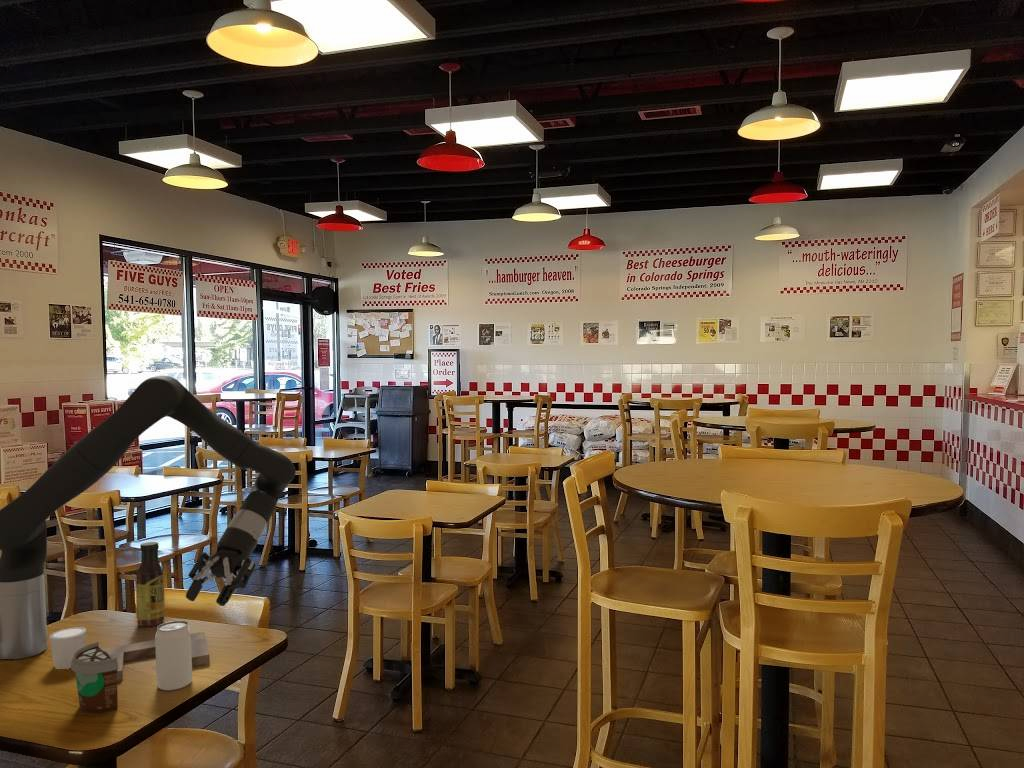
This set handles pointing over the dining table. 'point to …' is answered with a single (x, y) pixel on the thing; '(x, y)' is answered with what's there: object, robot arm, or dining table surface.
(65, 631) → the white short cylinder
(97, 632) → the dining table surface
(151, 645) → the notched board
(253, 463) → the robot arm
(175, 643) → the can
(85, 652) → the food container
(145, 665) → the dining table surface
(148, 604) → the sauce bottle
